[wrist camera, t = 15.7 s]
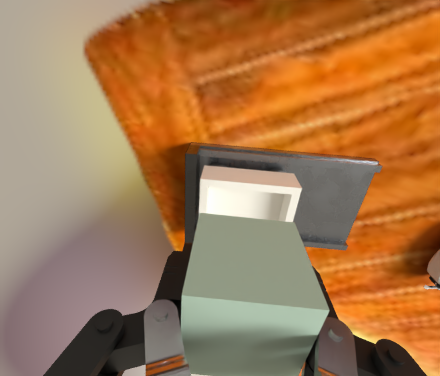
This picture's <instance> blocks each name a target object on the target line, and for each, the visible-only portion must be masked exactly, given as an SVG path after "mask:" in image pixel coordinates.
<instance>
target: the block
mask: <svg viewBox="0 0 440 376" xmlns="http://www.w3.org/2000/svg"><path fill="white" fill-rule="evenodd" d="M329 311H330V310H329V308H328V305H327V302H326V300H325V297H324V295H323V292H322V290H321V287H320V285H319V282H318V280H317V277H316V275H315V272H314V270H313V267H312V265H311V262H310V260H309V257H308V255H307V252H306V250H305V247H304V245H303V242H302V240H301V237H300V235H299V232H298V230H297V227H296V225H295V222H285V221H275V220H266V219H256V218H246V217H237V216H227V215H217V214H208V213H200V214H199V218H198V223H197V228H196V232H195V237H194V241H193V246H192V250H191V255H190V260H189V264H188V269H187V273H186V278H185V282H184V287H183V292H182V302H181V334H182V340H183V346H184V351H185V356H186V358H187V360H188V363H189V368H190V374H200V375H210V376H298V375H299V373H300V371H301V369H302V367H303V365H304V363H305V361H306V358H307V356H308V354H309V352H310V350H311V348H312V346H313V344H314V342H315V340H316V338H317V336H318V334H319V332H320V330H321V327H322V325H323V323H324V321H325V319H326V317H327V315H328V313H329Z"/></svg>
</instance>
